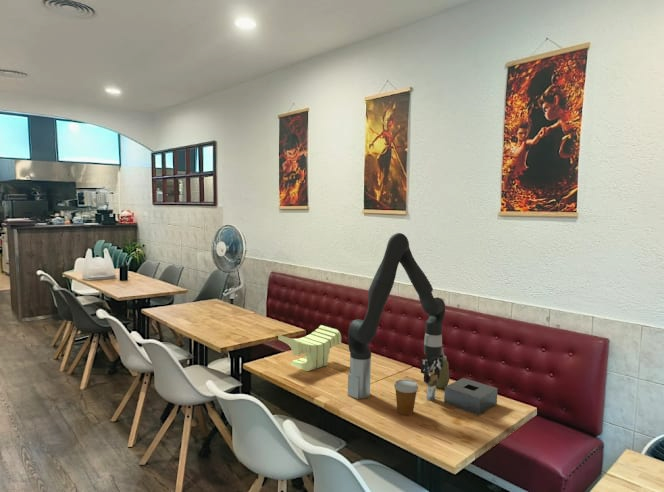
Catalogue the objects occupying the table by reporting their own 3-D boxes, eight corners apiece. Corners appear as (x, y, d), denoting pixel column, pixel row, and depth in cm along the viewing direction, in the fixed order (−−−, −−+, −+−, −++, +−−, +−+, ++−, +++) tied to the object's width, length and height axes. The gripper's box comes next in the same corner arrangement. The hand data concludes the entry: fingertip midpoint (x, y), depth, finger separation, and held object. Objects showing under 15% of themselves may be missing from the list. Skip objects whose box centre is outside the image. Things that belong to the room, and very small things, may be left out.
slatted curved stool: (297, 377, 212) (298, 341, 211) (277, 368, 224) (278, 334, 222) (340, 363, 233) (341, 330, 232) (320, 356, 245) (321, 324, 243)
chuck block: (479, 415, 175) (480, 398, 175) (444, 402, 187) (444, 386, 186) (496, 404, 187) (497, 388, 186) (462, 392, 198) (463, 377, 197)
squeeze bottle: (452, 386, 205) (453, 349, 204) (443, 391, 199) (445, 352, 198) (436, 381, 211) (438, 345, 209) (428, 386, 205) (429, 348, 204)
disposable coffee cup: (411, 419, 170) (413, 389, 170) (389, 413, 175) (390, 384, 175) (420, 410, 178) (421, 382, 178) (399, 404, 183) (400, 377, 183)
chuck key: (432, 402, 187) (433, 377, 186) (423, 398, 190) (424, 374, 189) (438, 399, 190) (439, 374, 189) (429, 395, 194) (430, 371, 193)
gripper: (431, 349, 181) (430, 386, 182) (449, 342, 191) (447, 378, 192) (416, 345, 186) (415, 381, 188) (434, 338, 197) (432, 373, 198)
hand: (431, 380), depth 190 cm, fingers open, 8 cm apart
